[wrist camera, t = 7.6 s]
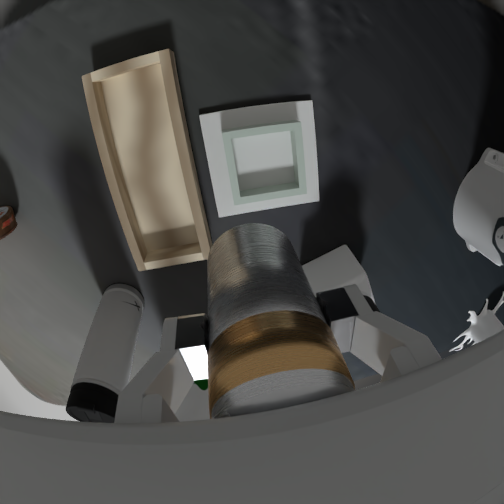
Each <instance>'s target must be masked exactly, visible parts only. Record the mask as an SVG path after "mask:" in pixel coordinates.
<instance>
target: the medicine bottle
mask: <svg viewBox="0 0 504 504" xmlns="http://www.w3.org/2000/svg"><path fill="white" fill-rule="evenodd" d="M302 268H303V270H304V272H305V274H306V277H307V279H308V281H309V283H310V286H311V288H312V290H313V292H314V295H315V297H316V293H318V292H322V291H327V290H331V289H336V288H340V287H344V286H348V285H352V284H356V285H357V286H358V288H359V290H360V291H361V293H362V294H363V296H364V298H365V299H366V301H367V302H368V304H369V306H370V307H371V309H372V311H373V312H375V311H378V312H380V311H379V310H378V308H377V306H376V304H375V301H374V297H373V294H372V290H371V287H370V284H369V280H368V277H367V274H366V272H365V271H364V269H363V268H362V266H361V265H360V263H359V262H358V261H357V259H356V258H355V256H354V255H353V253H352V252H351V251H350V249H349V248H348V246H347V245H342V246H340V247H338V248H336V249H334V250H332V251H330V252H328V253H326V254H324V255H322V256H320V257H318V258H316V259H314V260H312V261H310V262H308V263H306V264H304V265H302Z"/></svg>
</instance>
